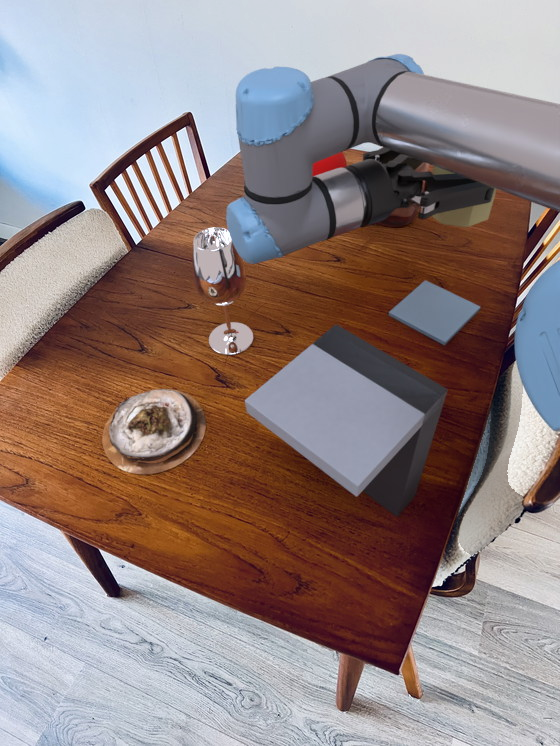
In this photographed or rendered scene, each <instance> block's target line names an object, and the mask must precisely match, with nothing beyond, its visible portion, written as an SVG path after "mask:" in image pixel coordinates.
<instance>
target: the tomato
mask: <svg viewBox="0 0 560 746" xmlns="http://www.w3.org/2000/svg"><path fill="white" fill-rule="evenodd" d="M346 166H348V163H347V159H346V157H345V153H344V152H340V153H337V154H335V155H333V156H330V157H328V158H325V159H323V160H321V161H318V162H316V163H314V164H313V176H316V175H319V174H322V173H325V172H328V171H331V170H334V169H337V168H345V167H346Z"/></svg>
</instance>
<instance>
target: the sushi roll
mask: <svg viewBox="0 0 560 746" xmlns="http://www.w3.org/2000/svg"><path fill="white" fill-rule="evenodd" d="M206 428H207V421H206V415H205V412H204V410H203V407H202V406H201V404H200V403H199V402H198V401H197V400H196V399H195V398H194V397H193V396H191V395H189V394H187V393H186V392H184V391H180V390H176V389H172V388H159V389H148V390H145V391H142V392H139V393H135V394H134V395H132V396H130V397H128V398H126V399H124V401H121V402H120V403H119V405H118V406H117V407H116V408H115V409H114V410H113V412H112V413H111V415H110V416H109V417H108V418H107V421H106V422H105V425H104V427H103V429H102V430H103V431H102V437H101V438H102V439H101V443H102V448H103V451H104V454H105V456H106V458H107V459H108V460H109V461H110V462H111V463H112V464H113V465H114V466H115V467H117V468H118V469H121V470H122V471H124V472H126V473H130V474H136V475H152V474H153V475H154V474H159V473H163V472H166V471H168V470H172V469H173V468H175V467H177V466H179V465H181V464H182V463H183V462H185V461H186V460H188V459H189V458H190V457H191V456H192V455H193V454H194V453H195V452H196V450H198V448H199V447H200V446H201V443H202V441H203V438H204V437H205V433H206Z"/></svg>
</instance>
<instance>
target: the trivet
mask: <svg viewBox="0 0 560 746" xmlns="http://www.w3.org/2000/svg"><path fill="white" fill-rule="evenodd" d="M480 310H481V306H480V305H478V304H476V303H474V302H472V301H470V300H468V299H465V298H463V297H461V296H460V295H458V294H455V293H453V292H452V291H449V290H447V289H445V288H442V287H441V286H438V285H437V284H435V283H433V282H430V281H428V280H426V279H424V280H423V281H422V282H421V283H420V284H419V285H418V286H417V287H415V288H414V289H413V290H412V291H411V292H410V293H409V294H408V295H406V296H405V297H404V298H403V299H402V300H401V301H400V302H398V303H397V304H396V305H395V306H394V307H393V308H392V309H391V310H390V311H388V316H389V317H390V318H393V319H395V320H396V321H398V322H400V323H402V324H404V325H405V326H407V327H409V328H410V329H413V330H414V331H417V332H418V333H420V334H422V335H424V336H426V337H427V338H430V339H432V340H433V341H435V342H437V343H439V344H441V345H443V346H446V345H447V344H448V343H449V342H450V341H451V340H452V339H453V338H454V337H455V336H456V335H457V334H458V333H459V332H460V330H462V329H463V327H465V326H466V325H467V324H468V323H469V322H470V321H471V320H472V319H473V318H474V316H476V315H477V313H479V312H480Z"/></svg>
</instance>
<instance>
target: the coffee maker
mask: <svg viewBox="0 0 560 746" xmlns="http://www.w3.org/2000/svg"><path fill="white" fill-rule="evenodd" d="M447 394H448V388H446V387H444V386H442V384H440V383H438V382H436V381H434V380H432V379H431V378H429V377H427V376H426V375H424V374H422V373H420V372H419V371H417V370H415V369H414V368H412V367H410V366H408V365H407V364H405V363H403V362H402V361H400V360H398V359H397V358H395V357H393V356H392V355H390V354H388V353H386V352H385V351H383V350H381V349H380V348H378V347H376V346H375V345H373V344H371V343H369V342H368V341H366V340H364V339H362V338H361V337H359V336H357V335H355V334H354V333H352V332H350V331H349V330H346V329H345V328H343V327H342V326H340V325H338V324H334V325H333V326H332V327H331V328H330V329H327V331H325V332H324V333H323V334H322V335H321V336H320V337H318V339H316V340H315V341H313V342H312V343H311V344H310V345H309V346H308V347H307V348H306V349H304V350H303V351H302V352H300V354H299V355H297V356H296V357H295V358H293V359H292V360H291V361H290V362H289V363H287V364H286V365H285V366H284V367H283V368H282V369H280V370H279V371H278V372H277V373H276V374H274V375H272V377H271V378H270V379H268V380H267V381H266V382H264V383H263V384H262V385H261V386H259V388H258V389H256V390H255V391H254V392H253V393H252V394H250V395H249V396H248V397H247V398H245V400H244V405H245V411H246V413H247V414H248V415H250V416H251V417H252V418H254V419H255V420H256V421H257V422H259V423H260V424H261V425H263V427H265V428H267V430H269V431H271V432H272V434H274V435H276V436H277V437H279V438H280V439H281V440H282V441H283V442H285V444H287V445H288V446H290V447H291V448H292V449H294V450H295V451H296V452H298V453H299V454H300V455H302V456H303V457H304V458H305V459H307V461H309V462H311V463H312V464H313V465H314V466H316V467H317V468H318V469H319V470H321V471H322V472H323V473H325V474H326V475H328V476H329V477H330V478H331V479H333V480H334V481H335V482H336V483H338V484H339V485H340V486H341V487H343V488H344V489H345V490H346V491H348V492H350V493H351V494H352V495H354V496H355V497H358V496H359V495H360V494H361V493H362V492H363V493H365V494H366V495H367V496H368V497H369V498H371V499H372V500H373V501H375V502H376V503H378V505H380V506H382V507H383V508H384V509H386V510H387V511H388V512H390V513H391V514H392V515H393V516H395V517H396V518H398V517H399V516H400V515H401V514H402V513H403V511H404V510H405V509H406V508H407V507H408V505H409V504H410V503H411V502H412V501H413V499H414V498H415V497H416V495H417V491H418V489H419V488H418V487H419V485H420V482H421V478H422V476H423V472H424V469H425V466H426V462H427V459H428V456H429V452H430V449H431V445H432V442H433V439H434V436H435V432H436V429H437V427H438V423H439V420H440V416H441V413H442V409H443V407H444V403H445V399H446V397H447Z"/></svg>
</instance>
